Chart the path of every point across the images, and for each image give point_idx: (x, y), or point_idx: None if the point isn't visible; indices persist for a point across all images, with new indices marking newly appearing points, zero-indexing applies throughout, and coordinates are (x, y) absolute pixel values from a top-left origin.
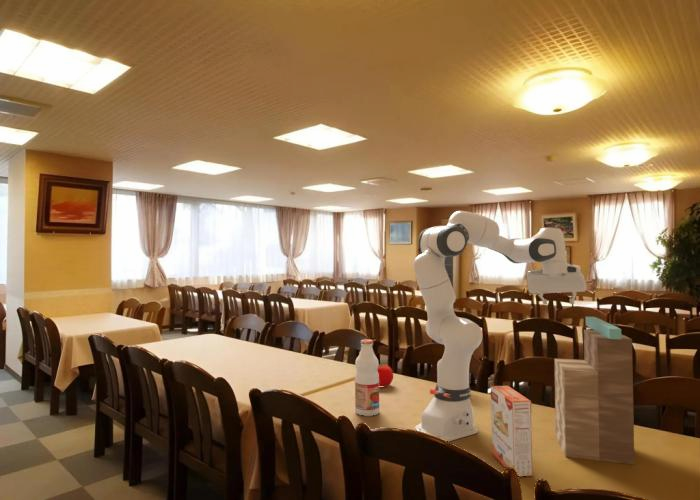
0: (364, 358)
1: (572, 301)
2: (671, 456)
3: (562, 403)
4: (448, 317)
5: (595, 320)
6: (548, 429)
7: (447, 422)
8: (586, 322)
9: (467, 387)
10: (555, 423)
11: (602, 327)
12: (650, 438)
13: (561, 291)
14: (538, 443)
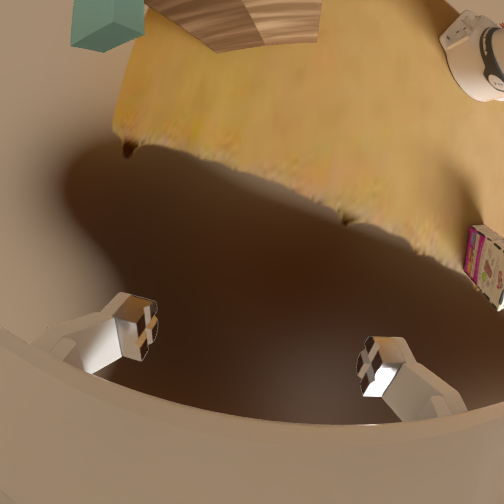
0: None
1: (123, 305)
2: (154, 42)
3: None
4: None
5: None
6: (327, 70)
7: (479, 16)
8: (133, 13)
9: (492, 38)
10: (317, 34)
11: None
12: (162, 96)
13: (175, 412)
14: (345, 11)
